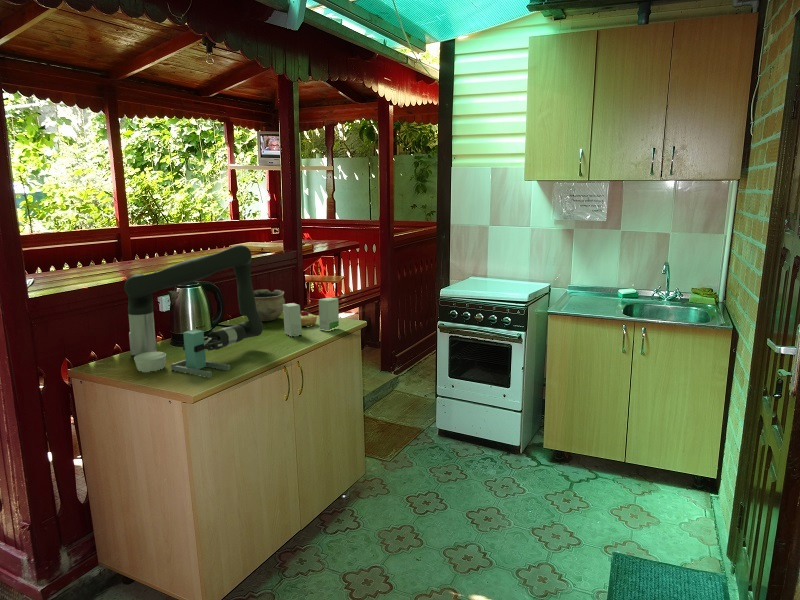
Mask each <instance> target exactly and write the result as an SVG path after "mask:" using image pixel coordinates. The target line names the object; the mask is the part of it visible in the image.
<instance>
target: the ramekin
mask: <svg viewBox="0 0 800 600" xmlns="http://www.w3.org/2000/svg"><path fill="white" fill-rule="evenodd" d="M166 358H167V353H165V352H162V351H156V352H146V353H142V354H139V355H134V357H133V360H134V362H135V366H136V367H135V368H136V370H137V371H139V372H140V371H142V372H141V373H151V372H150V371H155V372H157V371H156V370H159V371H161V370H163V369H164V368H166V367H165V366H166V361H167V359H166ZM160 369H161V370H160Z"/></svg>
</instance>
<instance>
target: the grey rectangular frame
mask: <svg viewBox="0 0 800 600" xmlns="http://www.w3.org/2000/svg"><path fill="white" fill-rule="evenodd" d="M210 367H211V368H212V369H215V368H216V370H221V369H222V371H226V370H229V371H231V365H230V364H226V363H221V362H216V361H210V360H206V368H210ZM170 368H171V371H172V370H174V371H173V372H176V371H180V372H179V373H181V372H186V373H191V374H196V375H201V376H205V377H204V378H206V377H209V378H208V379H211V378H213V373H212V371H207V370H204V369H194V368H188V367H186V359H183V360H179V361H177V362H173V363H171V364H170ZM186 373H185V374H186ZM191 374H190V375H191ZM196 375H195V376H196ZM201 376H200V377H201ZM210 377H211V378H210Z"/></svg>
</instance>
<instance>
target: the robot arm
mask: <svg viewBox="0 0 800 600" xmlns="http://www.w3.org/2000/svg"><path fill="white" fill-rule="evenodd" d="M252 257H253V256H252V251H251V250H250V248H249V247H248V246H246V245H243V244H237V245H234V246H231V247H229V248H227V249H224V250H222V251H219V252H216V253H212V254H207V255H202V256H198V257H193V258H191V259H187V260H184V261H180V262H177V263H175V264H173V265H170V266H168V267H166V268H164V269H161V270H159V271H158V270H157V271H156V272H151V273H147V274H144V273H134V274H132V275H130V276H129V277H128V278H127V279H126V281H125V283H124V286H123V287H124V291H125V293H126V294H127V299H128V301H127V303H128V305H127V313H128V314H127V315H128V323H129V332H128V337H129V338H128V340H129V349H130V355H131V356H136V355H139V354H142V353H146V352H158V351H157V342H156V341H157V340H156V331H155V330H156V329H155V319H154V318H155V317H154V299H153V293H156V292H159V291H160V290H164V289H168V288H172V287H177V286H181V285H185V284H186V285H187V284H189V283H194V282H197V281H200V280H202V279H205V278H208V277H210V276H211V275H213V274H215V273H217V272H219V271H223V270H225V269H230V268H233V271H234V275H235V279H236V287H237V288H236V289H237V303H238V308H239V314H240V315H241V316H243V317H247V319H248V320H247V321H242V322H240V323H238V324H237V323H236V325H231V326H228V327H223V328H219V329H215V330H212V331H210V332H209V333H208V334H207V336H204V343H203V345H202V344H201V345H198V346H195V347H194V352H199V351H202V350H204V351H205V352H206V351H208V352H211V351H213V350H215V351H216V350H217V351H218V350H220V349H224V348H226V347H230V346H232V345H233V344H235V343H240V342H241V341H243V340H244V339H249V338H254V337H258V336H261V335H262V333H263V330H264V325H263V321H261V319H260V316H259V314H258V312H257V309H256V302H255V296H254V291H255V290H254V288H253V287H254V286H253V283H252V273H251V267H252V265H251V264H252V259H253V258H252ZM182 349H183V350H182V351H185V346H184V344H183V345H182Z"/></svg>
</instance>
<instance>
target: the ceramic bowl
mask: <svg viewBox="0 0 800 600" xmlns="http://www.w3.org/2000/svg"><path fill="white" fill-rule="evenodd" d="M253 291H254V296H255V302H256V309H257V312H258V314H259V316H260V319H261V321H262V322H269V321H274V320H276V319H279V317H280V316H281V315H282V314H283V304H286V299H285V298H284V296H285V291H284V290H281V289H274V290H273V291H270V290H269V289H255V290H253Z"/></svg>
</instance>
